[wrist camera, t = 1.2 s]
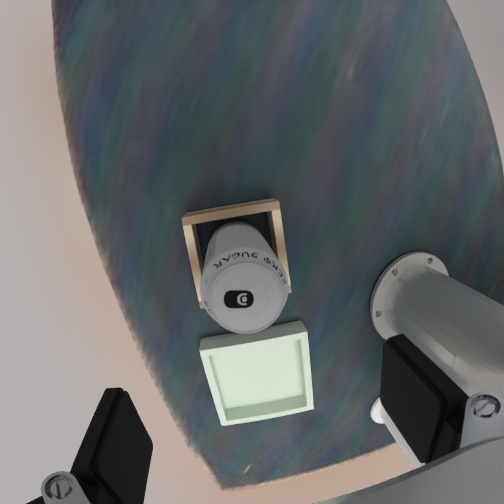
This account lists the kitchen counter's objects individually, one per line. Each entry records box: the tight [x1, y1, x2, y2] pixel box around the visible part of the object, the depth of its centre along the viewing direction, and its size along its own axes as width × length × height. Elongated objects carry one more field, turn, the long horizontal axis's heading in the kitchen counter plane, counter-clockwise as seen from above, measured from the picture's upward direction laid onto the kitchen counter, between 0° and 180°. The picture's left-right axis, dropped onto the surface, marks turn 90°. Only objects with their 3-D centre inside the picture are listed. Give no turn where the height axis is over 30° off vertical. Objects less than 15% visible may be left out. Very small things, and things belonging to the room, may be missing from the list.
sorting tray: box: [200, 320, 314, 426], centre depth 37 cm, size 12×12×3 cm
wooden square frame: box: [181, 198, 291, 309], centre depth 32 cm, size 9×9×4 cm
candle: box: [370, 396, 426, 469], centre depth 30 cm, size 7×7×25 cm
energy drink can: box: [200, 221, 289, 334], centre depth 27 cm, size 6×6×15 cm
